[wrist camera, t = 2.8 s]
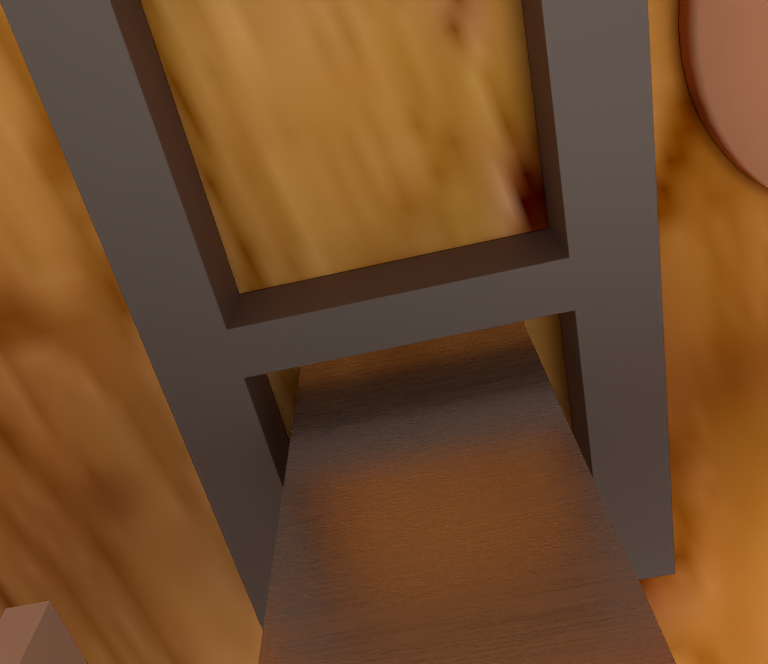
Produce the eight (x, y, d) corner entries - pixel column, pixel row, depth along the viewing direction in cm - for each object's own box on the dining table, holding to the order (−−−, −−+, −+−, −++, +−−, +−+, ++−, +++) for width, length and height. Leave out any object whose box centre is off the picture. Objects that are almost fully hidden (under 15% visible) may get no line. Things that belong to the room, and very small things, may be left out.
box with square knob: (352, 528, 17) (346, 1087, 9) (301, 362, 15) (226, 881, 7) (546, 492, 17) (736, 1035, 8) (521, 317, 15) (737, 801, 6)
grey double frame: (276, 593, 18) (269, 645, 16) (11, -80, 11) (-36, -85, 10) (650, 525, 17) (674, 573, 16) (600, -231, 11) (634, -259, 9)
